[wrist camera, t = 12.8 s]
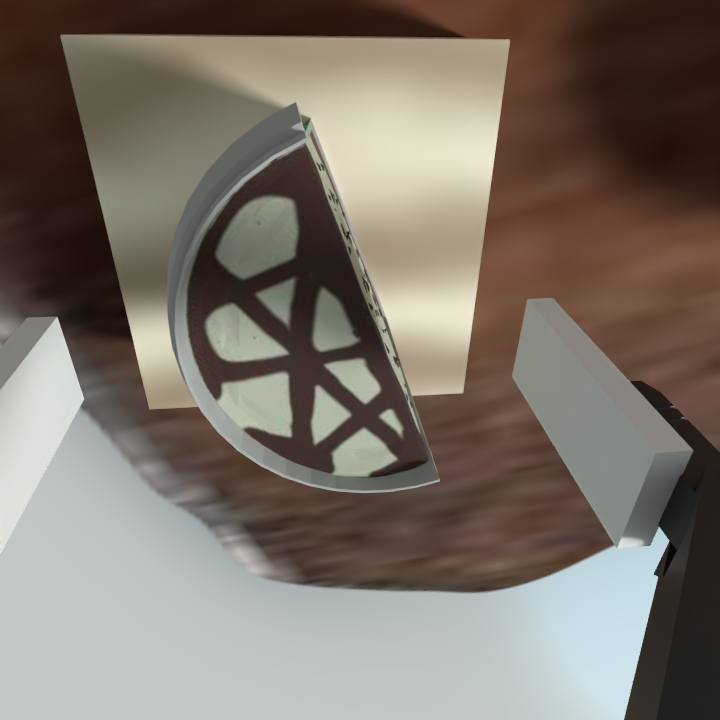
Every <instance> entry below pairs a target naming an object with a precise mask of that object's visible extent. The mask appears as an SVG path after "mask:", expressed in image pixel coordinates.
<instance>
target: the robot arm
mask: <svg viewBox="0 0 720 720" xmlns="http://www.w3.org/2000/svg"><path fill="white" fill-rule="evenodd" d="M512 378H513V379H514V381H515V383H516V384H517V386H518V387H519V389H520V391H521V392H522V394H523V396H524V397H525V399H526V401H527V402H528V404H529V405H530V407H531V409H532V410H533V412H534V414H535V415H536V417H537V419H538V420H539V422H540V423H541V425H542V427H543V428H544V430H545V432H546V433H547V435H548V437H549V438H550V440H551V441H552V443H553V445H554V446H555V448H556V450H557V451H558V453H559V455H560V456H561V458H562V459H563V461H564V463H565V464H566V466H567V468H568V469H569V471H570V473H571V474H572V476H573V477H574V479H575V481H576V482H577V484H578V486H579V487H580V489H581V491H582V492H583V494H584V495H585V497H586V499H587V500H588V502H589V504H590V505H591V507H592V509H593V510H594V512H595V513H596V515H597V517H598V518H599V520H600V522H601V523H602V525H603V527H604V528H605V530H606V531H607V533H608V535H609V536H610V538H611V540H612V541H613V543H614V545H615V546H616V548H627V547H638V546H639V547H640V546H650V545H651V543H652V540H653V538H654V536H655V534H656V532H657V529H658V527H660V528H661V529H662V531H663V532H664V534H665V535H666V536H667V538H668V539H669V540H670V541H669V543H668V546H667V548H666V550H665V552H664V554H663V556H662V558H661V560H660V562H659V564H658V566H657V569H656V570H655V572H654V575H656V576H658V581H657V585H656V589H655V593H654V598H653V602H652V606H651V610H650V614H649V618H648V623H647V627H646V631H645V635H644V639H643V643H642V648H641V652H640V656H639V660H638V664H637V669H636V673H635V677H634V681H633V685H632V689H631V694H630V697H629V702H628V706H627V710H626V714H625V719H624V720H720V452H719V451H718V450H717V449H716V448H715V447H714V446H713V445H712V444H711V443H710V442H709V441H708V440H707V439H706V438H705V437H704V436H703V435H702V434H701V433H700V432H699V431H698V430H697V429H696V428H695V427H694V426H693V425H692V424H691V423H690V422H689V421H688V420H685V417H684V416H683V415H682V414H681V413H680V412H679V411H678V410H677V409H674V405H673V404H672V403H671V402H670V401H669V400H668V399H667V398H666V397H665V396H664V395H663V394H662V393H661V392H659V391H657V390H656V389H654V388H652V387H651V386H649V385H647V384H646V383H644V382H642V381H629V380H628V379H627V378H626V377H625V376H624V375H623V374H622V373H621V372H620V370H619V369H618V368H617V367H616V366H615V365H614V364H613V363H612V362H611V361H610V360H609V359H608V357H607V356H606V355H605V354H604V353H603V352H602V351H601V350H600V349H599V348H598V347H597V346H596V345H595V343H594V342H593V341H592V340H591V339H590V338H589V337H588V336H587V335H586V334H585V333H584V332H583V330H582V329H581V328H580V327H579V326H578V325H577V324H576V323H575V322H574V321H573V320H572V319H571V317H570V316H569V315H568V314H567V313H566V312H565V311H564V310H563V309H562V308H561V307H560V306H559V305H558V303H557V302H556V301H555V300H554V299H553V298H542V299H527V304H526V309H525V314H524V319H523V324H522V329H521V334H520V339H519V344H518V349H517V354H516V360H515V365H514V370H513V375H512ZM83 400H84V398H83V394H82V391H81V388H80V385H79V382H78V379H77V376H76V373H75V370H74V367H73V364H72V361H71V358H70V354H69V351H68V348H67V345H66V342H65V339H64V336H63V333H62V330H61V327H60V324H59V321H58V318H57V317H35V318H27V319H26V320H25V321H24V322H23V323H22V324H21V326H20V327H19V328H18V329H17V330H16V331H15V332H14V334H13V335H12V336H11V337H10V338H9V339H8V340H7V342H6V343H5V344H4V345H3V346H2V347H1V348H0V554H1V552H2V550H3V548H4V547H5V545H6V543H7V541H8V539H9V537H10V536H11V534H12V532H13V530H14V528H15V526H16V524H17V523H18V521H19V519H20V517H21V515H22V513H23V511H24V509H25V508H26V506H27V504H28V502H29V500H30V498H31V497H32V494H33V492H34V491H35V489H36V487H37V485H38V484H39V482H40V480H41V478H42V476H43V474H44V472H45V471H46V469H47V467H48V465H49V463H50V461H51V460H52V458H53V456H54V454H55V452H56V450H57V448H58V446H59V445H60V443H61V441H62V439H63V437H64V435H65V434H66V432H67V430H68V428H69V426H70V424H71V422H72V421H73V419H74V417H75V415H76V413H77V411H78V409H79V408H80V406H81V404H82V402H83Z"/></svg>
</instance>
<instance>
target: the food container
mask: <svg viewBox="0 0 720 720" xmlns="http://www.w3.org/2000/svg"><path fill="white" fill-rule="evenodd" d="M167 313H168V323H169V330H170V337H171V343H172V349H173V352H174V355H175V358H176V361H177V364H178V367H179V370H180V372H181V375H182V377H183V379H184V381H185V383H186V385H187V386H188V388H189V390H190V392H191V394H192V396H193V397H194V399H195V401H196V402H197V404H198V406H199V408H200V410H201V411H202V413H203V414H204V415H205V416H206V418H207V419H208V420H209V421H210V423H211V424H212V425H213V427H214V428H215V429H216V430H217V432H218V433H219V434H220V435H221V436H223V437H224V438H225V439H226V440H227V441H228V442H229V443H230V444H231V445H232V446H233V447H235V448H236V449H237V450H238V451H239V452H241V453H242V454H244V455H245V456H247V457H248V458H250V459H251V460H252V461H254V462H255V463H257V464H258V465H260V466H262V467H264V468H266V469H268V470H270V471H272V472H274V473H276V474H278V475H280V476H282V477H284V478H287V479H290V480H293V481H296V482H299V483H302V484H305V485H308V486H313V487H318V488H323V489H328V490H333V491H342V492H355V493H375V492H392V491H398V490H404V489H411V488H416V487H420V486H424V485H428V484H431V483H435V482H439V481H440V480H439V477H438V474H437V470H436V466H435V463H434V460H433V457H432V453H431V450H430V448H429V446H428V443H427V440H426V437H425V434H424V431H423V428H422V425H421V422H420V419H419V416H418V413H417V410H416V407H415V404H414V401H413V398H412V394H411V391H410V388H409V385H408V382H407V379H406V376H405V373H404V370H403V367H402V364H401V361H400V358H399V355H398V352H397V349H396V346H395V343H394V340H393V337H392V334H391V331H390V327H389V324H388V321H387V318H386V316H385V313H384V310H383V308H382V305H381V302H380V300H379V297H378V295H377V292H376V289H375V287H374V284H373V281H372V279H371V276H370V273H369V271H368V268H367V265H366V263H365V260H364V258H363V255H362V252H361V250H360V247H359V244H358V242H357V239H356V236H355V234H354V231H353V228H352V226H351V223H350V220H349V218H348V215H347V213H346V210H345V207H344V205H343V202H342V199H341V197H340V194H339V191H338V189H337V186H336V183H335V181H334V178H333V175H332V173H331V170H330V168H329V165H328V162H327V160H326V157H325V154H324V152H323V149H322V146H321V144H320V141H319V138H318V136H317V133H316V131H315V128H314V125H313V123H312V120H311V119H309V120H307V121H305V122H303V123H302V120H301V116H300V112H299V108H298V106H297V103H296V102H295V103H293V104H291V105H289V106H287V107H286V108H284V109H282V110H280V111H278V112H276V113H274V114H272V115H271V116H269V117H267V118H265V119H263V120H262V121H261V122H259V123H258V124H257V125H255V126H254V127H253V128H251V129H250V130H249V131H248V132H246V133H245V134H244V135H242V136H241V137H240V138H238V139H237V140H236V141H235V142H233V143H232V144H231V145H230V146H229V147H228V148H227V150H226V151H225V152H224V153H223V154H222V155H221V156H220V157H219V158H218V159H217V160H216V162H215V163H214V164H213V165H212V166H211V167H210V168H209V169H208V170H207V172H206V173H205V175H204V176H203V178H202V179H201V181H200V183H199V184H198V186H197V187H196V189H195V190H194V192H193V194H192V195H191V197H190V198H189V200H188V202H187V204H186V206H185V209H184V211H183V214H182V216H181V219H180V221H179V224H178V226H177V228H176V231H175V233H174V238H173V243H172V248H171V252H170V257H169V262H168V274H167Z"/></svg>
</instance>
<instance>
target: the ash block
mask: <svg viewBox="0 0 720 720" xmlns="http://www.w3.org/2000/svg"><path fill="white" fill-rule="evenodd" d="M60 37H61V41H62V45H63V49H64V53H65V58H66V62H67V66H68V70H69V74H70V78H71V83H72V87H73V91H74V95H75V99H76V104H77V108H78V112H79V116H80V120H81V125H82V129H83V133H84V137H85V141H86V145H87V150H88V154H89V158H90V162H91V166H92V171H93V175H94V179H95V183H96V187H97V191H98V196H99V200H100V204H101V208H102V212H103V217H104V221H105V225H106V229H107V233H108V238H109V242H110V246H111V250H112V254H113V258H114V263H115V267H116V271H117V275H118V279H119V284H120V288H121V292H122V296H123V300H124V304H125V309H126V313H127V317H128V321H129V325H130V330H131V334H132V338H133V342H134V346H135V351H136V355H137V359H138V363H139V367H140V371H141V376H142V380H143V384H144V388H145V392H146V397H147V401H148V405H149V409H163V408H183V407H199V406H198V404H197V402H196V401H195V399H194V397H193V396H192V394H191V392H190V390H189V388H188V386H187V385H186V383H185V381H184V379H183V377H182V375H181V372H180V370H179V367H178V364H177V361H176V358H175V355H174V352H173V349H172V343H171V337H170V330H169V323H168V313H167V274H168V262H169V257H170V252H171V248H172V243H173V238H174V233H175V231H176V228H177V226H178V224H179V221H180V219H181V216H182V214H183V211H184V209H185V206H186V204H187V202H188V200H189V198H190V197H191V195H192V194H193V192H194V190H195V189H196V187H197V186H198V184H199V183H200V181H201V179H202V178H203V176H204V175H205V173H206V172H207V170H208V169H209V168H210V167H211V166H212V165H213V164H214V163H215V162H216V160H217V159H218V158H219V157H220V156H221V155H222V154H223V153H224V152H225V151H226V150H227V148H228V147H229V146H230V145H231V144H232V143H233V142H235V141H236V140H237V139H238V138H240V137H241V136H242V135H244V134H245V133H246V132H248V131H249V130H250V129H251V128H253V127H254V126H255V125H257V124H258V123H259V122H261V121H262V120H263V119H265V118H267V117H269V116H271V115H272V114H274V113H276V112H278V111H280V110H282V109H284V108H286V107H287V106H289V105H291V104H293V103H295V102H296V103H297V106H298V108H299V112H300V116H301V120H302V123H303V122H305V121H307V120H309V119H311V120H312V123H313V125H314V128H315V131H316V133H317V136H318V138H319V141H320V144H321V146H322V149H323V152H324V154H325V157H326V160H327V162H328V165H329V168H330V170H331V173H332V175H333V178H334V181H335V183H336V186H337V189H338V191H339V194H340V197H341V199H342V202H343V205H344V207H345V210H346V213H347V215H348V218H349V220H350V223H351V226H352V228H353V231H354V234H355V236H356V239H357V242H358V244H359V247H360V250H361V252H362V255H363V258H364V260H365V263H366V265H367V268H368V271H369V273H370V276H371V279H372V281H373V284H374V287H375V289H376V292H377V295H378V297H379V300H380V302H381V305H382V308H383V310H384V313H385V316H386V318H387V321H388V324H389V327H390V331H391V334H392V337H393V340H394V343H395V346H396V349H397V352H398V355H399V358H400V361H401V364H402V367H403V370H404V373H405V376H406V379H407V382H408V385H409V388H410V391H411V394H412V396H415V395H434V394H453V393H463V389H464V381H465V374H466V366H467V359H468V351H469V344H470V336H471V329H472V321H473V314H474V306H475V299H476V291H477V284H478V276H479V269H480V261H481V254H482V246H483V239H484V231H485V224H486V216H487V209H488V201H489V194H490V186H491V179H492V171H493V164H494V156H495V149H496V141H497V134H498V126H499V119H500V111H501V104H502V96H503V89H504V81H505V74H506V67H507V59H508V52H509V44H510V40H505V39H485V38H461V37H370V36H280V35H190V34H76V35H60Z"/></svg>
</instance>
